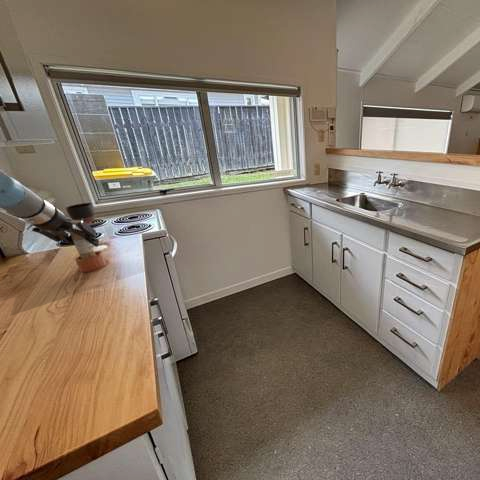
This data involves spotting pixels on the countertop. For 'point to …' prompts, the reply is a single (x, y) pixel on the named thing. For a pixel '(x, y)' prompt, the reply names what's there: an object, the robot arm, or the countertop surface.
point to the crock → (91, 262)
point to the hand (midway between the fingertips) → (89, 244)
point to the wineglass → (84, 216)
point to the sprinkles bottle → (83, 246)
